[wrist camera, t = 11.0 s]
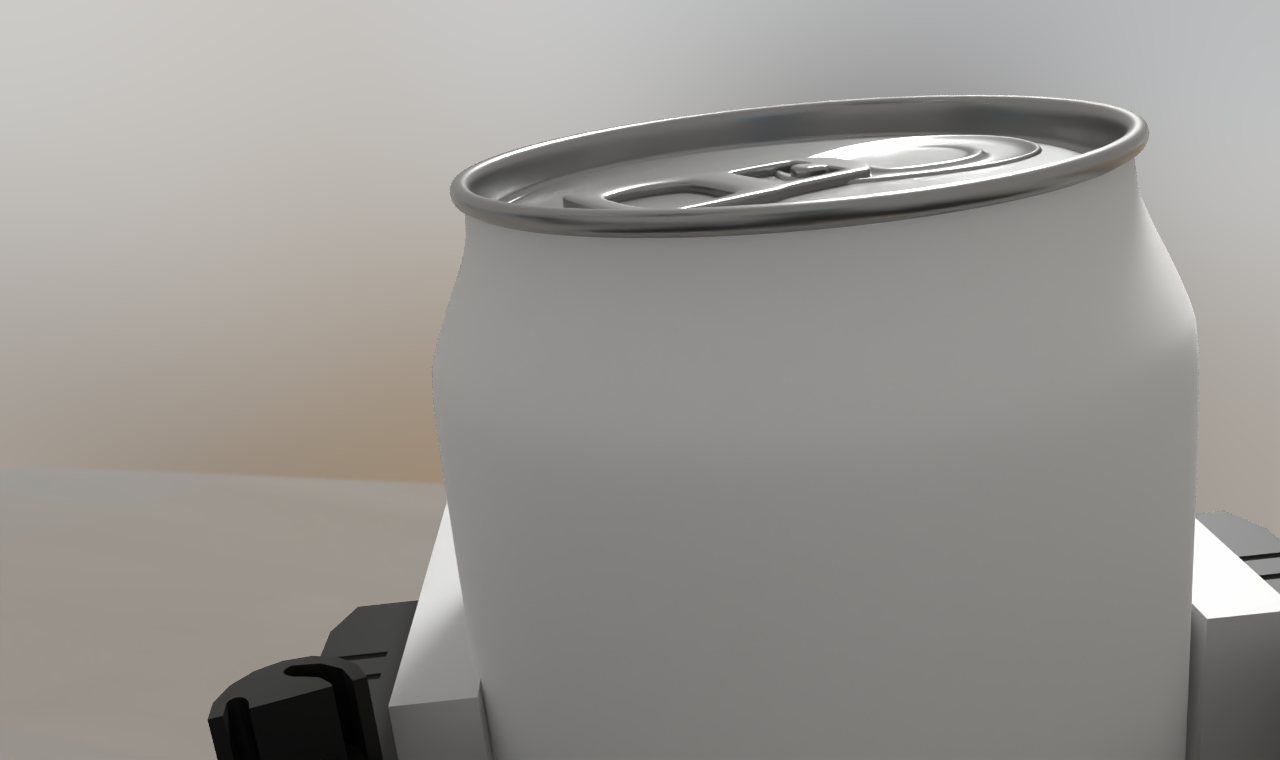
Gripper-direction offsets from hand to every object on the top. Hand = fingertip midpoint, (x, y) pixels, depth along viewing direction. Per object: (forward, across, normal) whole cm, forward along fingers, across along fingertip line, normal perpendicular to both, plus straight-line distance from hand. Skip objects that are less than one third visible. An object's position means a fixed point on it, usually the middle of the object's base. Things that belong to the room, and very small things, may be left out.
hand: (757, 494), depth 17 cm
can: (-5, 0, -7) cm, 8 cm away
